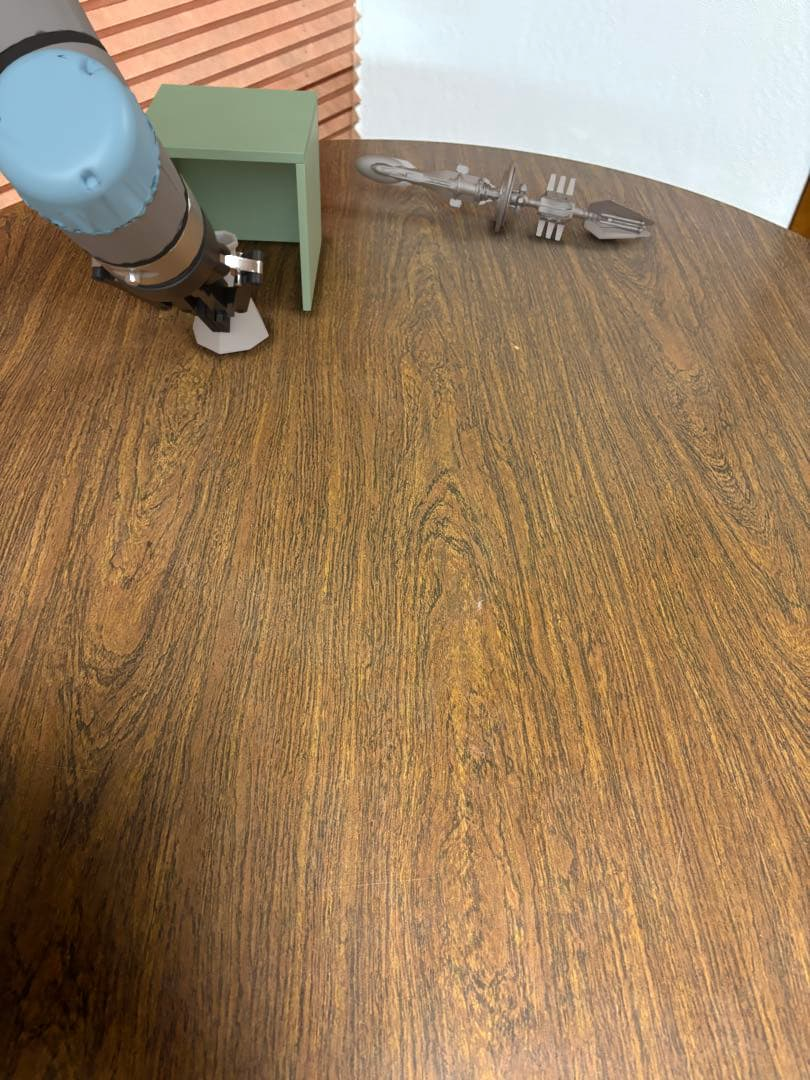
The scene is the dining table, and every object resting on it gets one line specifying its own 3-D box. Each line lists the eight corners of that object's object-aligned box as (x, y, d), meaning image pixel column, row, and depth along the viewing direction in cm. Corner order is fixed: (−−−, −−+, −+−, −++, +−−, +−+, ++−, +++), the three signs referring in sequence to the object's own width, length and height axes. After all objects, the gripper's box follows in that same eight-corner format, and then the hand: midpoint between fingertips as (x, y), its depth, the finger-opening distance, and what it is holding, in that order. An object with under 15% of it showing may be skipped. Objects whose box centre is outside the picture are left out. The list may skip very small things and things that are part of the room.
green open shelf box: (310, 311, 88) (304, 153, 76) (157, 304, 87) (127, 144, 76) (321, 240, 98) (317, 91, 86) (184, 234, 98) (161, 83, 86)
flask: (216, 364, 81) (202, 267, 74) (180, 328, 85) (163, 232, 77) (282, 340, 84) (275, 244, 77) (244, 306, 88) (234, 212, 81)
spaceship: (365, 126, 101) (355, 124, 94) (656, 191, 101) (668, 194, 93) (354, 197, 104) (343, 201, 97) (635, 260, 104) (645, 268, 97)
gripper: (45, 284, 56) (149, 355, 80) (247, 292, 56) (291, 361, 80) (49, 169, 56) (152, 274, 80) (250, 177, 56) (293, 279, 80)
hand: (221, 317), depth 80 cm, fingers closed
